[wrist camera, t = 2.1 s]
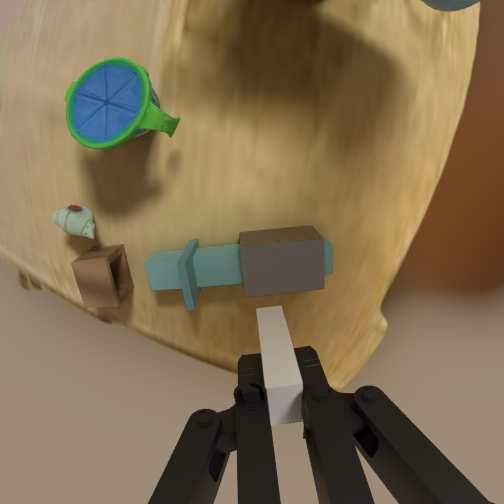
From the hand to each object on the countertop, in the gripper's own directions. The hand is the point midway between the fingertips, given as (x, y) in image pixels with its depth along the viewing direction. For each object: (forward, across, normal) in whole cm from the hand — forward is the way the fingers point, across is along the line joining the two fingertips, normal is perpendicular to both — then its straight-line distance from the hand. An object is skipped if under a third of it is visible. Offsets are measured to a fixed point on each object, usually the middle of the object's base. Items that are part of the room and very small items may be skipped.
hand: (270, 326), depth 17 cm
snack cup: (+23, -14, +19) cm, 33 cm away
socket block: (+23, -22, -3) cm, 32 cm away
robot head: (+23, -24, +6) cm, 34 cm away
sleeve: (+23, +3, -3) cm, 24 cm away
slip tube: (+23, -2, -3) cm, 23 cm away
